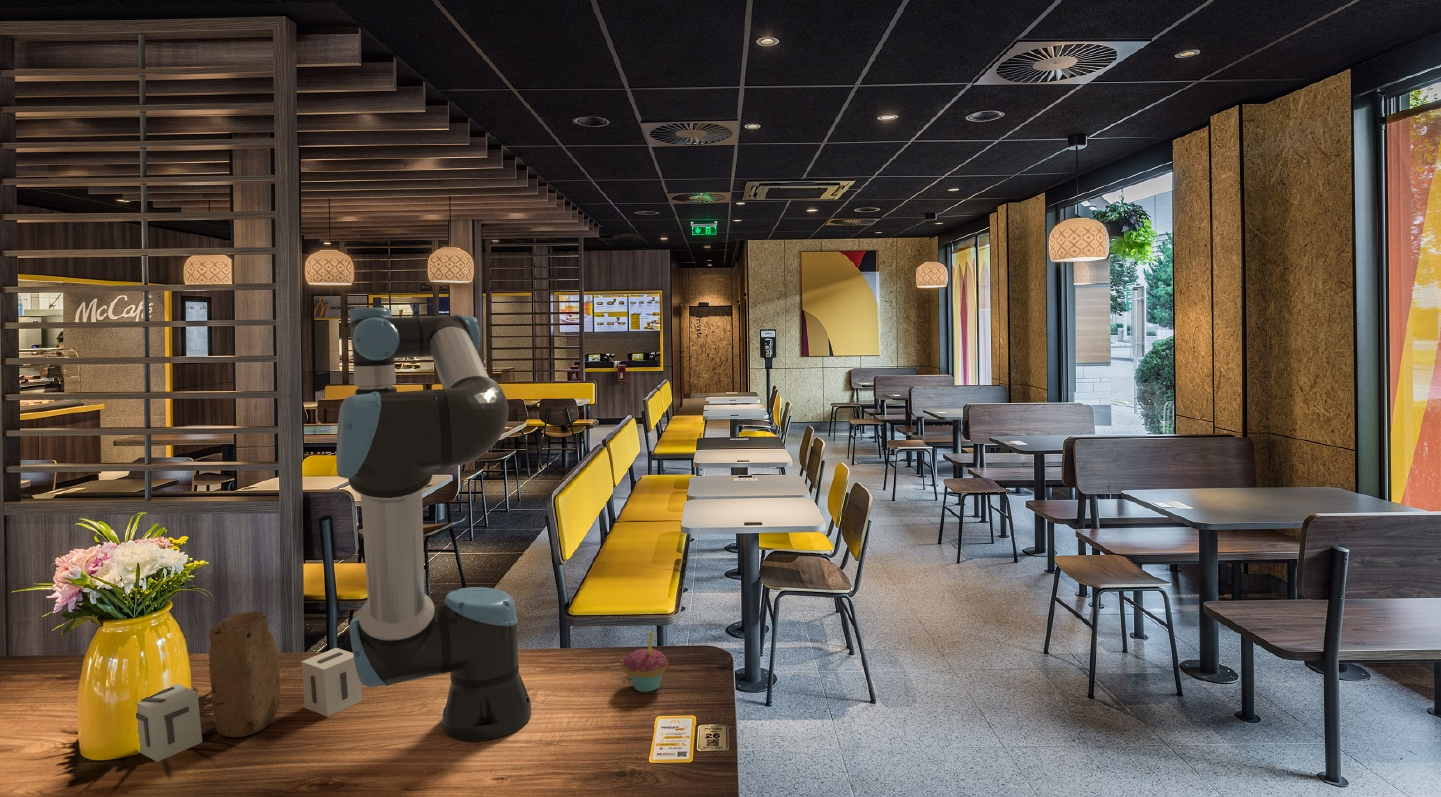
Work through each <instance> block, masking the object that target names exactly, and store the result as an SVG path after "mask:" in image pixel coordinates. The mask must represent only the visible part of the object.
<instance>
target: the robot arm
mask: <svg viewBox="0 0 1441 797" xmlns="http://www.w3.org/2000/svg"><path fill="white" fill-rule="evenodd" d="M349 319H350V320H349V328H350V336H351V338H350V339H351V348H352V349H351V350H352V358H353V366H352V367H353V368H352V370H353V383H354V386H355V387H356V390H355V393H354V394H352V395H349V396H348V397H346V398H344V399H343V401H341V404H340V407H339V411H338V420H337V431H336V453H335V454H336V455H335V457H336V458H335V461H336V462H335V463H336V473H337V476H338V477H340V478H343V479H346V480H348V485H350V487H351V489H352V490H353V491H354V492H355V493H356V494H358V495H360V502H361V520H362V521H361V522H362V532H363V533H362V534H363V547H364V550H363V551H364V564H365V577H366V594H367V596H366V597H367V601H366V602H364V604H362V607H361V609H360V610H359V612H358V616H356V617H355V618H353V619H351V620H350V622H349V636H350V644H351V651H352V653H353V655H354V661H355V666H356V670H357V673H358V677H359V679H360V681H361V685H363V687H364V686H365V687H366V688H377V687H384V686H385V687H389V686H393V685H395V684H396V685H397V684H401V683H404V682H405V683H407V682H410V681H414V680H420V679H424V678H429V677H434V676H438V675H443V674H448V673H450V684H449V690H448V693H447V694H448V695H447V699H446V704H445V706H444V708H443V712H442V717H441V718H442V728H443V732H444V733H445V734H446V735H447V736H448V737H450V738H453V739H455V740H459V741H465V742H479V741H480V742H482V741H490V740H495V739H498V738H499V739H500V738H502V737H505V736H508V735H510V734H513V733H515V732H516V731H518V730H520V729H522V728H523V727H525V725H526V724H527V723H528V722H529V721H530V719H531V717H532V702H531V698H530V696H529V694H528V691H527V689H526V686H525V683H524V681H523V679H522V676H521V674H520V664H519V646H518V644H519V642H518V627H517V624H518V617H517V610H516V605H515V600H514V598H513V597H512V596H511V594H509V593H508V592H506V591H504V590H500V589H498V588H493V587H491V588H490V587H484V586H479V587H478V586H477V587H476V586H471V587H470V586H469V587H463V588H458V589H456V590H452V591H449V592H448V593H447V594H446V596H445V598H444V603H438V604H434V602H433V600H432V599H431V597H430V596H428V595H427V594H426V593H425V570H424V568H425V567H424V566H425V565H424V564H425V563H424V562H425V558H424V522H423V521H424V517H423V514H424V512H423V490H424V489H426V488H427V487H428V486H429V485H430V483H431V481H432V479H433V470H434V469H436V470H437V469H442V468H443V469H444V468H451V467H452V468H454V467H458V466H459V467H460V466H463V465H467V464H469V463H472V462H474V461H475V460H478V459H479V458H481V457H482V456H484V455H485V454H486V453H488V452H489V451H490V450H491V449H492V448H493V447H494V446H495V445H496V443H497V442H498V441H499V440H500V438H501V437H502V435H503V433H504V431H505V429H506V426H507V423H508V419H509V403H508V400H507V397H506V394H505V392H504V391H503V389H502V387H501V386H500V385H499V384H498V383H497V382H496V381H495V379H494V380H493V379H492V378H490V377H489V374H488V372H487V370H486V368H485V366H484V364H483V361H482V360H481V358H480V355H479V353H478V352H479V351H480V347H481V333H480V332H481V331H480V326H479V321H478V319H477V318H476V317H475V316H471V315H459V314H455V315H454V314H453V315H441V316H440V315H438V316H436V315H435V316H434V315H433V316H402V317H401V316H398V317H396V316H395V317H393V316H392V311H391V310H390V308H388V307H354V308H352V309H351V310H350V312H349ZM426 357H430V358H432V360H433V363H434V366H435V369H436V372H437V375H438V378H439V380H440V381H439V382H440V383H441V386H442V388H439V389H437V388H436V389H425V390H424V389H423V390H409V391H407V390H406V391H398V389H397V387H396V386H393V385H395V384H396V383H397V377H396V359H406V358H407V359H408V358H426ZM357 387H358V388H357Z"/></svg>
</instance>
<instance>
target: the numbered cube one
mask: <svg viewBox="0 0 1441 797" xmlns="http://www.w3.org/2000/svg"><path fill="white" fill-rule="evenodd" d="M300 666H301V673H302V675H301V676H302V687H303V688H302V689H303V699H304V709H307V710H310V711H311V712H314V711H315V713H316V712H317V713H316V714H319V713H320V715H321V714H322V716H325V717H327V718H329V717H331V716H333V715H335V714H338V713H339V711H340V712H342V711H344V710H346V709H349V708H350V707H352V706H355V705H357V704H359V703H361V702H362V701H363V690H362V683H361V681H360V679H359V677H358V673H357V670H356V666H355V661H354V655H353V652H350V651H347V650H344V649H341V648H338V647H334V648H332V649H330V650H328V651H324V652H322V653H319V654H317V655H315V656H311V657H309V658H307V659H304V660H302V661H301V665H300ZM354 704H355V705H354Z"/></svg>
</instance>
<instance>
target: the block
mask: <svg viewBox="0 0 1441 797" xmlns="http://www.w3.org/2000/svg"><path fill="white" fill-rule="evenodd" d="M208 638H209V641H210V647H209V650H208V662H209V663H208V664H209V665H208V666H209V668H208V670H209V681H210V682H209V683H210V688H211V689H210V691H211V692H210V694H211V697H210V698H211V703H212V713H213V718H214V722H215V726H216V731H217V733H218V734H219V735H220V736H225V737H230V738H243V737H246V736H249V735H253V734H256V733H258V732H261V731H263V730H264V729H265V728H267V727H268V726H270V724H271V722H272V721H273V720H274V718H275V716H276V714H277V712H278V709H279V705H280V704H281V703H280V702H281V694H282V693H281V692H282V691H281V688H282V687H281V678H280V677H281V674H280V662H279V655H278V654H279V653H278V649H277V645H276V641H275V637H274V635H273V634H272V631H271V630H270V629H269V624H268V619H267V615H266V614H265V613H264V612H261V611H258V610H256V611H245V612H235V613H234V614H232V615H230V616H229V617H227V618H224V619H222V620H220V621H219V622H218V623H217V624H215V625H214V626H213V628H212V629H210V631H209V633H208Z"/></svg>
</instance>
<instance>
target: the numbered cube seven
mask: <svg viewBox="0 0 1441 797" xmlns="http://www.w3.org/2000/svg"><path fill="white" fill-rule="evenodd" d="M174 684H175V685H173V684H172V685H173V686H171V685H170V686H171V687H170V688H167V689H164V690H162V691H159V692H158V693H156V694H154V695H152V696H150V697H146V698H144V699H141V700H142V701H140V702H137V713H136V718H137V720H138V734H139V742H140V752H139V754H142V755H143V756H146V757H147V758H149V759H152V760H153V761H155V762H157V763H158V762H160V761H163V760H165V759H167V758H170V757H172V756H174V755H177V754H178V753H181V752H183V751H186V750H188V749H190V748H194V747H195V746H197V745H200V744H201V743H203V735H202V725H201V714H200V706H199V705H200V704H199V696H198V693H199V692H198V691H195V690H193V689H192V688H188V687H186V686H184V685H181V684H179V683H174Z"/></svg>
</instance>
